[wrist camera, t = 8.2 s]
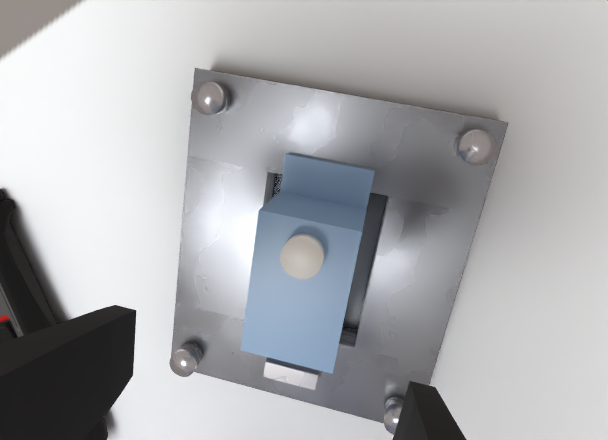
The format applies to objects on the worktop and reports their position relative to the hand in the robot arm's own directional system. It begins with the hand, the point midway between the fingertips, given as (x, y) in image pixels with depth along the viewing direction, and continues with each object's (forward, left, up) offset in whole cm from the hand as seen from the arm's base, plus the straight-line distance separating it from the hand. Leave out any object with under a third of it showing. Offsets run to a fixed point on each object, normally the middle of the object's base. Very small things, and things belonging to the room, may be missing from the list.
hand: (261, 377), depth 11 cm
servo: (0, 0, -9) cm, 9 cm away
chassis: (0, 0, -9) cm, 9 cm away
